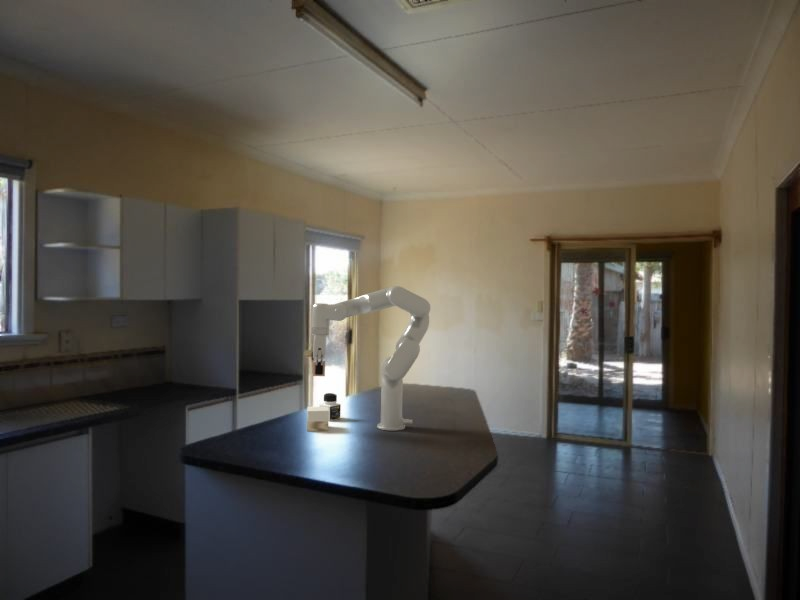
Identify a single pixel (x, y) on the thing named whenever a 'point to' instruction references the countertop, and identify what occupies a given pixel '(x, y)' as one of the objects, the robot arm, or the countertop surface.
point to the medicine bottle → (332, 406)
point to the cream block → (317, 414)
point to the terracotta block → (314, 369)
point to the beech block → (317, 426)
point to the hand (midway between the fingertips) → (319, 373)
